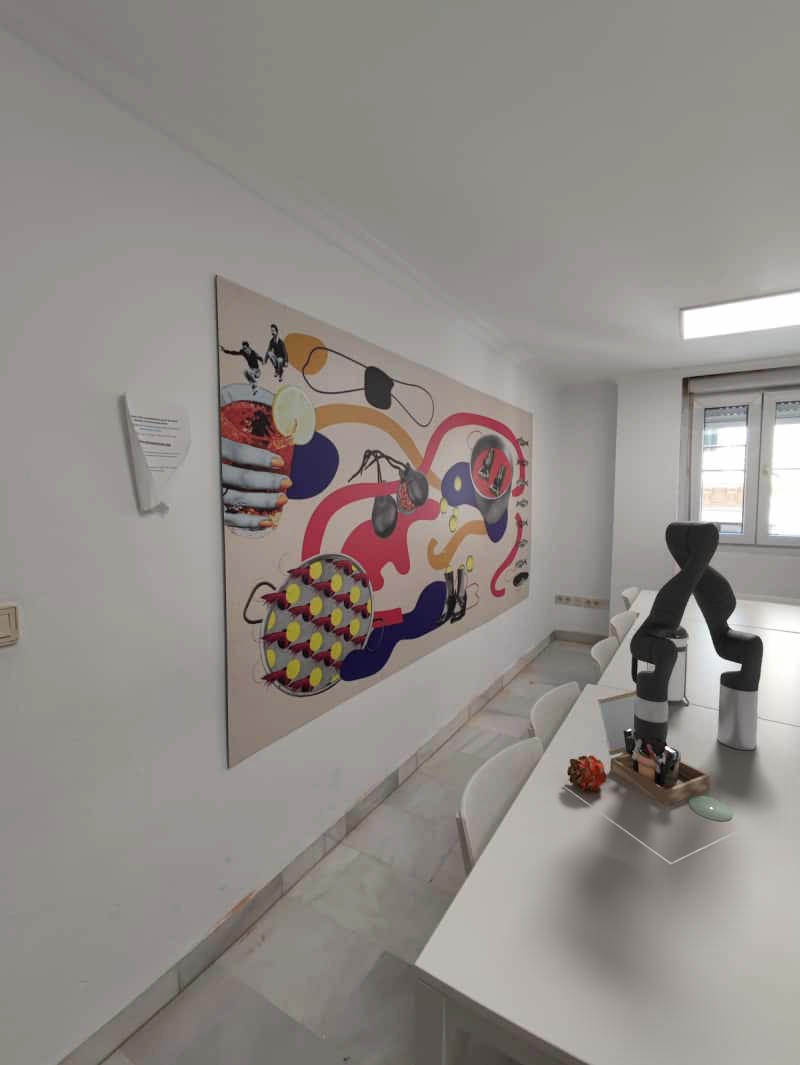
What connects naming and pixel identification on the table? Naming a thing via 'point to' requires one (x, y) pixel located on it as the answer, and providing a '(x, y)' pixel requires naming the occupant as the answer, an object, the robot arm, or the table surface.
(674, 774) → the grey pot
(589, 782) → the dragon fruit
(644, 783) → the box
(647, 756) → the terracotta pot
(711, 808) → the saucer
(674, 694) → the coffee press
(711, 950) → the table surface
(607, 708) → the lid
